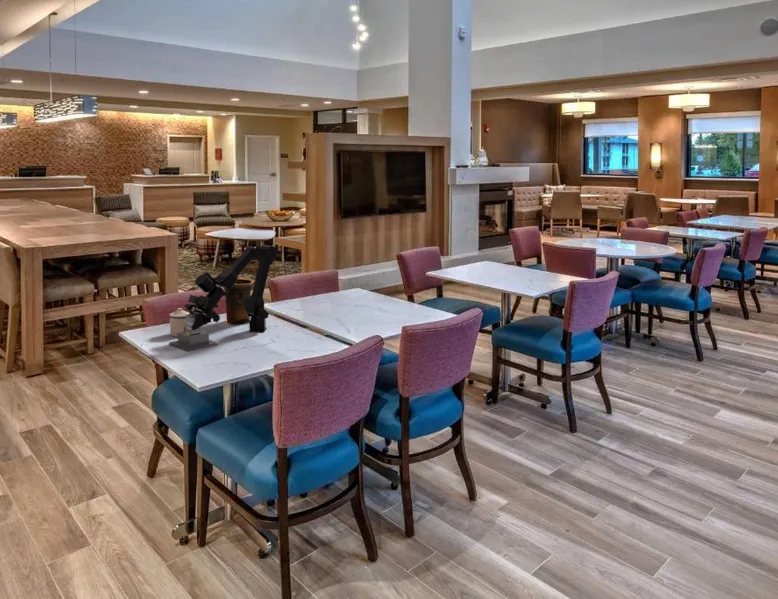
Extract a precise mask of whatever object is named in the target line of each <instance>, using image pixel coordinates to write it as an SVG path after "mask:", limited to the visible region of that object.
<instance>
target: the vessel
mask: <svg viewBox="0 0 778 599" xmlns="http://www.w3.org/2000/svg"><path fill="white" fill-rule="evenodd" d="M253 287H254V281H253V280H252V279H248V278H238V279H237V281H236V283H235V284H234V286H233V287H232V288H230V289H227V288H223V290H226V291H227V293H228V297H225V312H226V313H225V314H226V316H225V317H226V320H227V321H226V320H224V322H223V323H224V324H227V325H232V326H244V325H249V321H250V320H251V319H250V318H251V317H249V316H248V314H247V312H246V311H245V306H244V305H245V302H246V297H248V298H249V297H250V296H251V295H252V290H253ZM225 322H226V323H225Z"/></svg>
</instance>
